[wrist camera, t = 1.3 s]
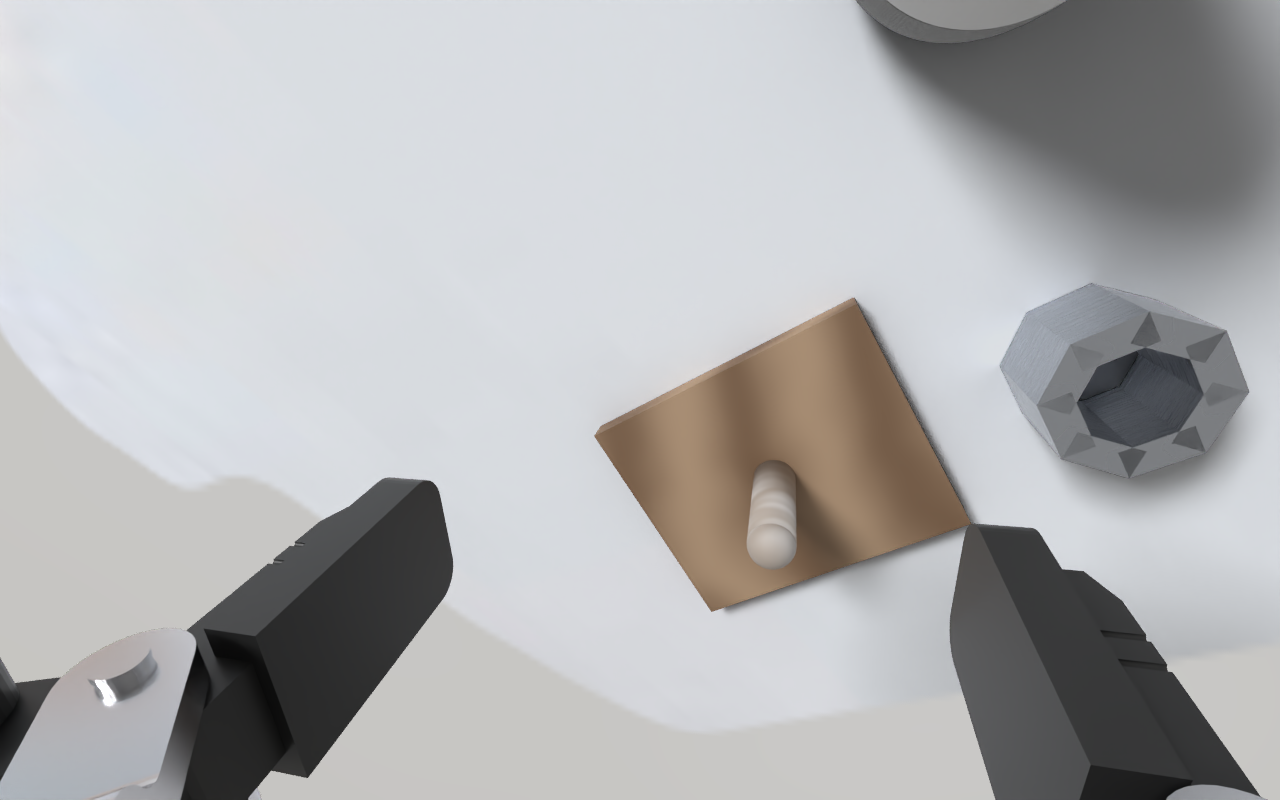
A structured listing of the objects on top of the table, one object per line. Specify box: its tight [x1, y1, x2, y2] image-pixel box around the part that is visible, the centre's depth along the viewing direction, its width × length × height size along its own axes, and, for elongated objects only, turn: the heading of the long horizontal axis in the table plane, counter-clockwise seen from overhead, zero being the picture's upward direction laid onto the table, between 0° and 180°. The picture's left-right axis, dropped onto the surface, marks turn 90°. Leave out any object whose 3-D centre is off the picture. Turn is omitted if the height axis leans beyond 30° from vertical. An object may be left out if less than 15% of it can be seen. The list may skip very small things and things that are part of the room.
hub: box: [1000, 283, 1249, 478], centre depth 24 cm, size 6×6×4 cm
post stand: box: [595, 298, 971, 612], centre depth 28 cm, size 14×12×8 cm
